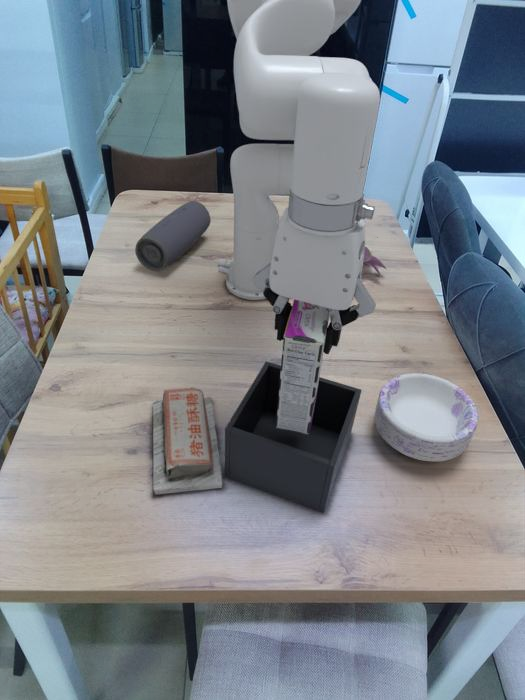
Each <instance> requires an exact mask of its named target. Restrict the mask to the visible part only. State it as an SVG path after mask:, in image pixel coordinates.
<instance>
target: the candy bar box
mask: <svg viewBox="0 0 525 700" xmlns="http://www.w3.org/2000/svg"><path fill="white" fill-rule="evenodd" d="M291 306H292V309H291V312H290V316H289V319H288V323H287V326H286V330H285V333H284V339H283V340H282V353H281V361H280V362H281V363H280V365H281V373H280V386H279V397H278V407H277V418H276V428H278V429H282V430H288V431H294V432H298V433H303V434H309V432H310V427H311V422H312V417H313V412H314V406H315V401H316V395H317V389H318V383H319V377H320V375H321V370H322V364H323V358H324V352H323V351H324V344H325V338H326V331H327V328H328V326H329V320H330V315H329V310H328V308H326V307H322V306H318V305H314V304H311V303H307V302H303V301H299V300H295V299H293V302H292V304H291Z"/></svg>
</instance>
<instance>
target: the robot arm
mask: <svg viewBox="0 0 525 700" xmlns="http://www.w3.org/2000/svg"><path fill="white" fill-rule="evenodd" d="M226 2H227V11H228V15H229V19H230V23H231V27H232V30H233V33H234V35H235V38H236V42H235V48H234V53H233V79H234V88H235V94H236V95H235V96H236V105H237V110H238V116H239V117H238V118H239V126H240V129H241V132H242V134H243V135H244V136H246V137H247V138H249V139H253V140H265V141H293V143H248V144H244V145H241V146H239V147H237V148H236V149H235V150H234V151H233V152H232V153H231V157H230V161H229V162H230V163H229V168H230V177H231V186H232V194H233V195H232V196H233V253H232V254H233V259H232V261H229V260H226V259H222V258H220V259H218V261H217V267H218V273H221V274H226V275H227V277H226V281H225V285H226V288H227V290H228V292H230V293H231V295H234V296H235V297H238V298H240V299H244V300H248V301H249V300H250V301H261V300H267V302H268V303H269V304H270V306H271V310H272V312H273V313H274V314H275V315H274V316H275V317H274V327H273V329H274V330H275V331H277V332H276V340H277V341H280V342H281V341H283V339H284V333H285V330H286V326H287V323H288V319H289V316H290V312H291V309H292V302H289V301H290V299H292V300H294V299H295V300H299V301H303V302H307V303H311V304H314V305H318V306H322V307H326V308H328V310H329V320H330V322H329V323H328V327H327V331H326V338H325V344H324V351H323V354H325V355H329V354H330V352H331V351H332V348H333V347H338V346H339V344H340V343H339V342H340V339H341V334H342V330H343V327H345V326H347V325H349V324H351V323H353V322H355V321H356V320H358V319H359V318H363V317H365V316H367V315H370V314H372V313H374V311H375V309H376V306H377V305H376V302H375V300H374V298H373V297H372V296H371V294H370V292H369V291H368V289H367V288H366V286H365V285H364V283H363V281H362V274H363V272H362V271H363V267H364V263H363V259H364V249H365V247H366V223H365V219H367V220H370V221H371V220H373V217H374V213H375V210H376V207H375V206H373V205H370V204H368V203H366V199H364V198H365V193H364V189H365V185H366V179H367V174H368V168H369V163H370V158H371V152H372V147H373V143H374V138H375V137H374V136H375V131H376V125H377V120H378V115H379V111H380V102H381V93H380V90H379V88H378V86H377V84H376V83H375V82H374V81H373V80H372V78H371V77H370V74H369V71H368V68H367V67H366V65H364V63H363V62H361V61H360V60H357V59H353V58H348V57H329V56H317V55H313V54H314V53H316V52H317V51H318V50H320V49H321V48H322V47H323V46H324V45H325V43H326V42H327V41H328V39H329V37H330V36H331V35H333V34H334V33H336V32H337V31H338V29H339V28H341V27H342V26H343V24H345V22H346V21H348V20H349V18H350V17H352V16H353V14H354V13H355V12H356V10H357V9H358V8H359V6H360V4H361V2H362V0H226ZM270 196H288V206H287V207H286V208H285V209H284V210H283V212H282V214H281V217H280V214H279V213H280V212H279V210H278V208H277V206H276V204H275V203H274V202H273V200H272V199H271V197H270ZM354 299H355V300H356V302H357V304H353V305H352V303H353V300H354Z"/></svg>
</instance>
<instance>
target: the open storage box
mask: <svg viewBox="0 0 525 700" xmlns="http://www.w3.org/2000/svg"><path fill="white" fill-rule="evenodd" d="M280 373H281V364H277V363H273V362H270V361H267V360H266V361H264V363H263V365H262V367H261V369H260V370H259V372H258V374H257V375H256V377H255V379H254V380H253V382H252V384H251V385H250V387H249V388H248V390H247V392H246V393H245V395H244V397H243V398H242V400H241V401H240V403H239V404H238V407H237V408H236V410H235V412H234V413H233V414H232V416H231V418H230V420H229V421H228V423H227V424H226V426H225V428H224V477H227V478H229V479H231V480H235V481H238V482H240V483H242V484H245V485H249V486H251V487H254V488H256V489H259V490H261V491H264V492H267V493H270V494H271V495H275V496H278V497H281V498H283V499H286V500H288V501H292V502H294V503H297V504H300V505H302V506H305V507H307V508H310V509H313V510H317V511H319V512H321V513H325V511H326V508H327V506H328V502H329V499H330V497H331V493H332V490H333V488H334V486H335V482H336V479H337V476H338V474H339V470H340V467H341V465H342V461H343V458H344V456H345V452H346V450H347V447H348V444H349V442H350V438H351V436H352V431H353V427H354V423H355V419H356V414H357V411H358V407H359V402H360V399H361V394H362V389H361V388H357V387H354V386H351V385H347V384H344V383H341V382H337V381H334V380H331V379H328V378H324V377H320V376H319V383H318V389H317V395H316V401H315V406H314V412H313V417H312V422H311V427H310V432H309V434H303V433H298V432H294V431H288V430H282V429H278V428H276V418H277V407H278V397H279V386H280Z"/></svg>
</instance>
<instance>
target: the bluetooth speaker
mask: <svg viewBox="0 0 525 700" xmlns="http://www.w3.org/2000/svg"><path fill="white" fill-rule="evenodd" d="M211 221H212V220H211V214H210V212H209V211H208V209H207V207H206V206H205V205H204V204H203V203H201V202H199V201H196V200H192V201H188V202H186V203H183V204H181V205H180V206H178V207H177V208H176V209H174V210H173V211H171V212H170V213H169V214H168V215H167V214H166V216H165V217H163V218H162V219H161V220H159V221H158V222H157V223H156V224H155V225H153V226H152V227H151V228H150V229H148V230H147V231H146V232H145V233H144V234H143V235H142V236H141V237H140V238H139V239H138V240H137V243H136V244H135V247H134V249H135V250H134V251H135V255H136V259H137V260H138V261H139V263H140V264H141V265H142V266H143V267H144V268H146V269H148V270H151V271H155V272H160V271H162V270H164V269H165V268H167V267H168V266H170V265H172V264H173V263H175V262H176V261H178V260H179V259H180V258H181V257H182V256H183V255H184V254H185V253H186V252H188V251H189V250H190V249H191V248H192V247H193V246H194V244H195V243H197V241H198V240H199V239H200V238H201V237H202V236H203V235H204V234H205V233H206V231H207V230H208V229H209V227H210V225H211Z"/></svg>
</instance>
